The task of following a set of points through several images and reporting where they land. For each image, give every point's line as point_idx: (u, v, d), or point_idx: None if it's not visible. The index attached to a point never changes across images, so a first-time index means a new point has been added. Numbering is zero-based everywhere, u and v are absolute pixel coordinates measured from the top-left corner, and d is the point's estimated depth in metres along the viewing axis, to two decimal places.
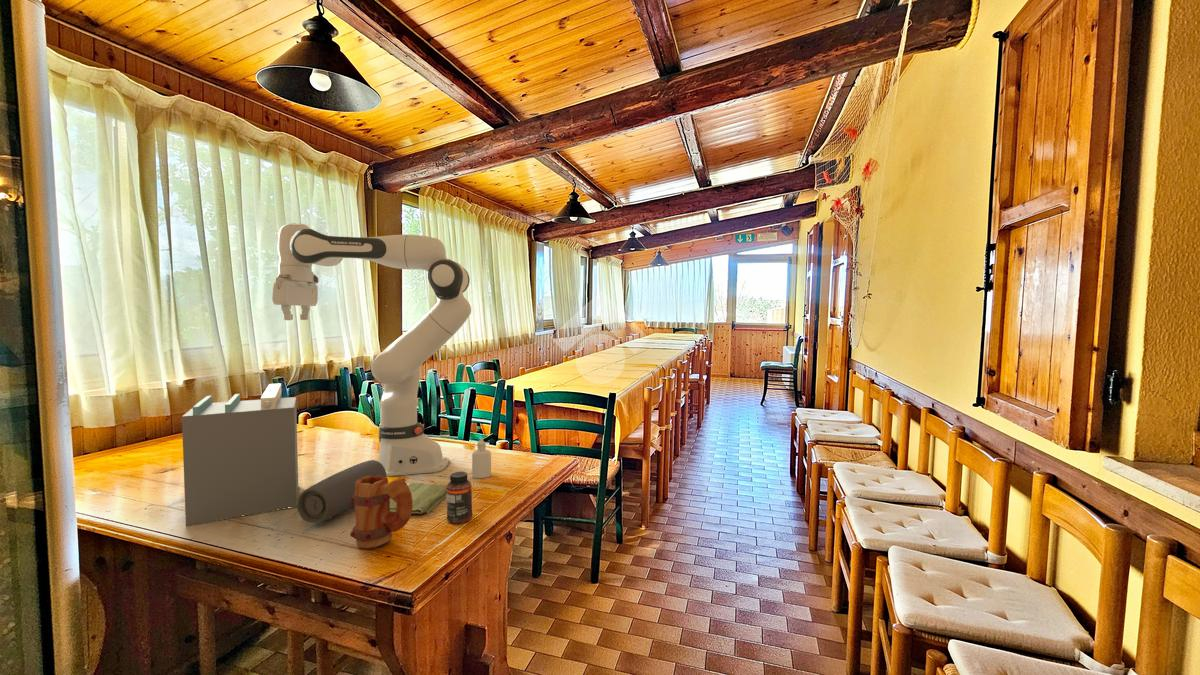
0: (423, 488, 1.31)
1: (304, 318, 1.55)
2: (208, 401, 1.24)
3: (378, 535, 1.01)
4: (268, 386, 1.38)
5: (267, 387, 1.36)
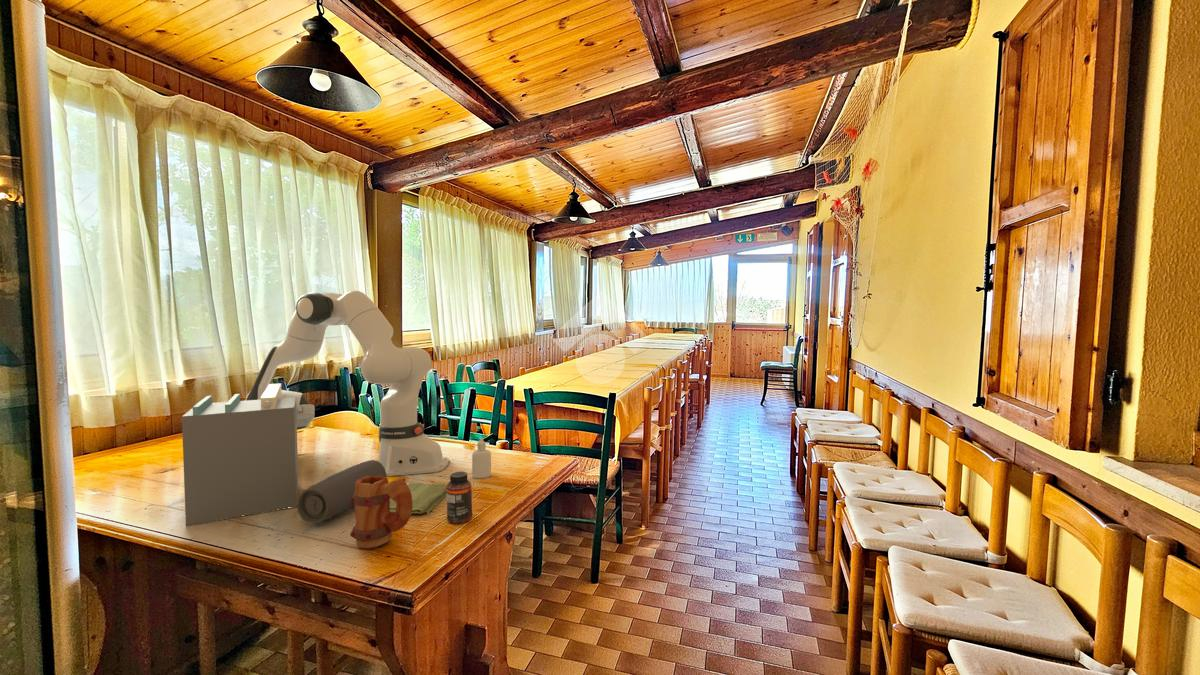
0: (422, 488, 1.31)
1: None
2: (208, 401, 1.24)
3: (378, 535, 1.01)
4: (268, 386, 1.38)
5: (267, 387, 1.36)
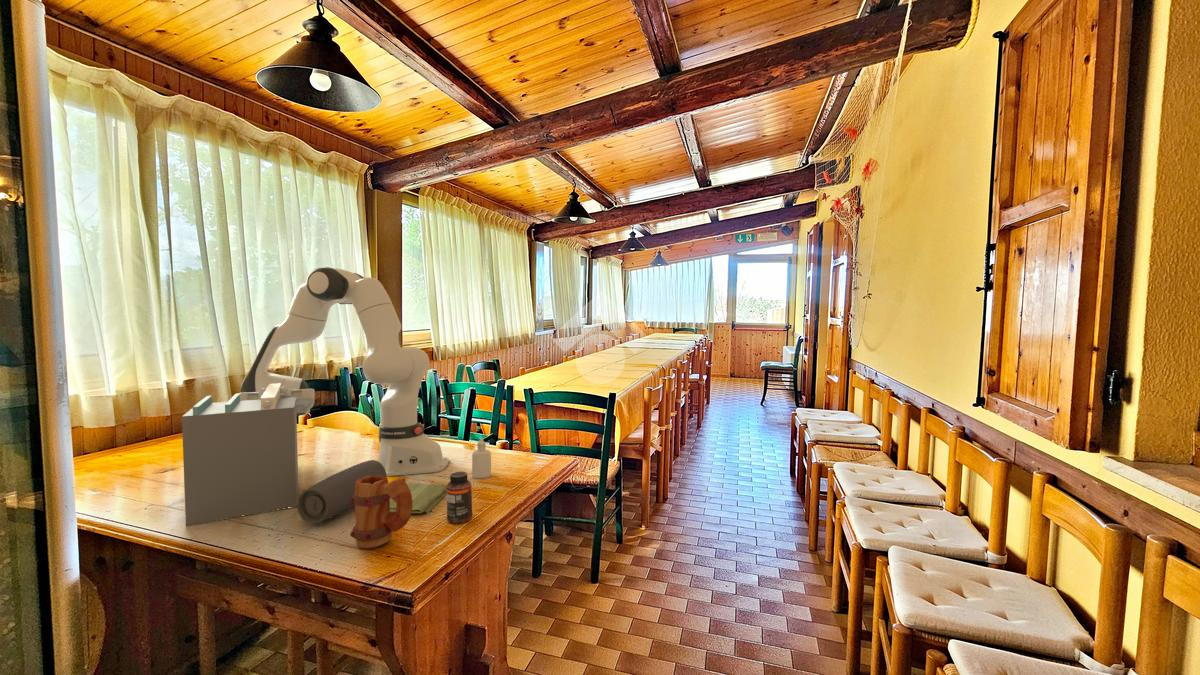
0: (421, 488, 1.31)
1: None
2: (208, 401, 1.24)
3: (378, 535, 1.01)
4: (268, 386, 1.38)
5: (267, 387, 1.36)
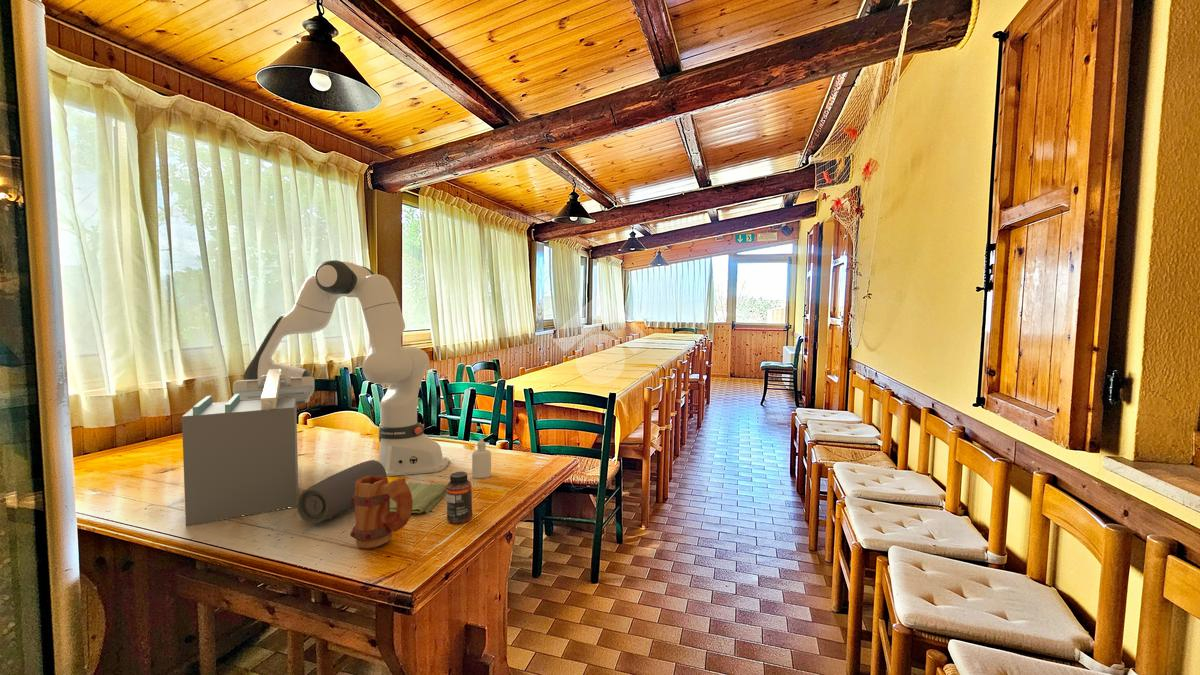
0: (421, 488, 1.31)
1: (280, 376, 1.40)
2: (208, 401, 1.24)
3: (378, 535, 1.01)
4: (268, 374, 1.38)
5: (267, 376, 1.36)
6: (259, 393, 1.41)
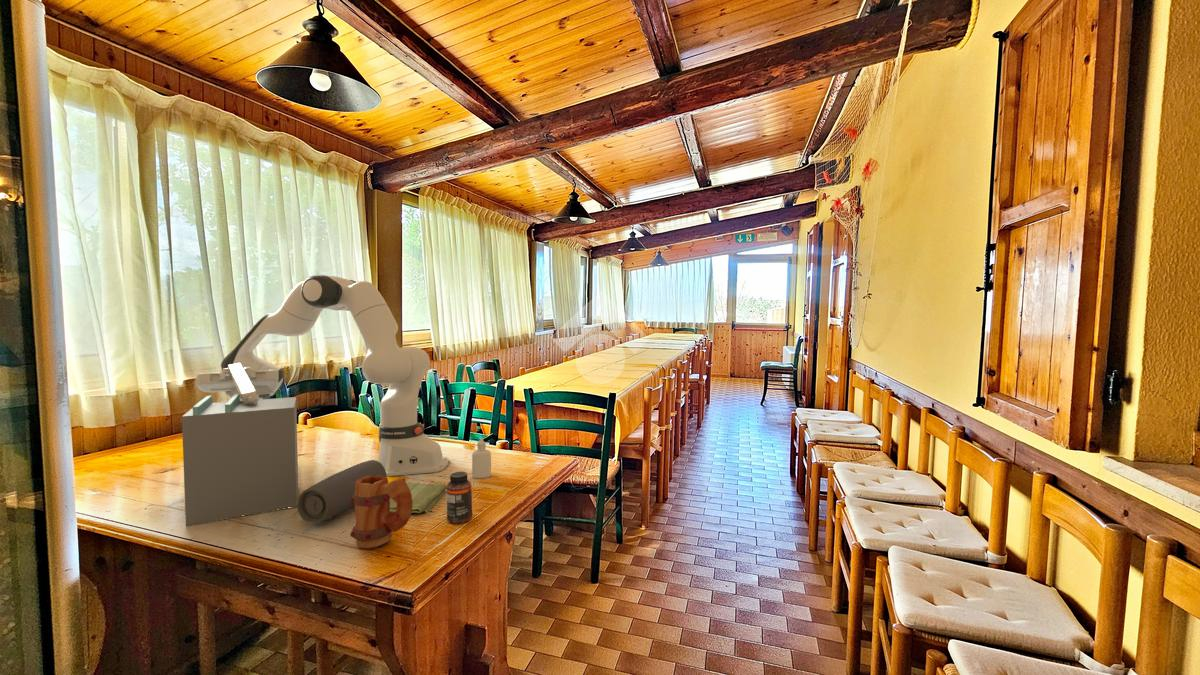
0: (419, 488, 1.31)
1: None
2: (208, 401, 1.24)
3: (378, 535, 1.01)
4: (231, 370, 1.41)
5: (231, 372, 1.39)
6: (223, 386, 1.45)
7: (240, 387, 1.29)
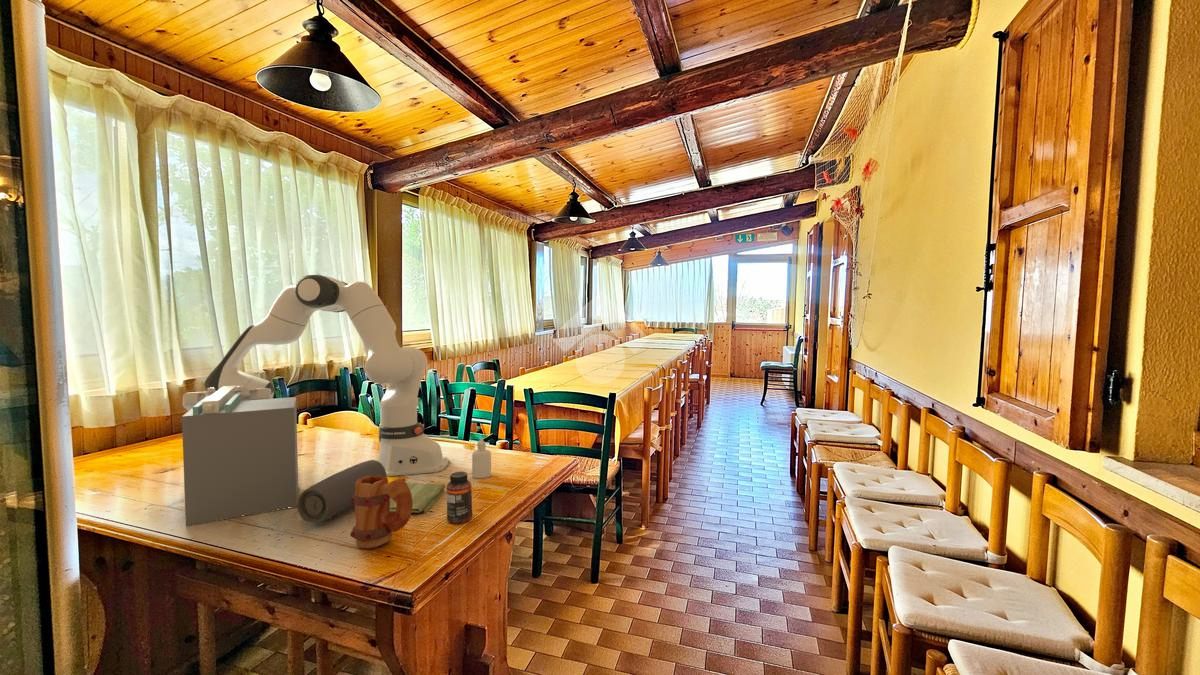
0: (418, 487, 1.31)
1: (237, 387, 1.34)
2: None
3: (378, 535, 1.01)
4: (220, 388, 1.33)
5: None
6: None
7: (208, 398, 1.19)
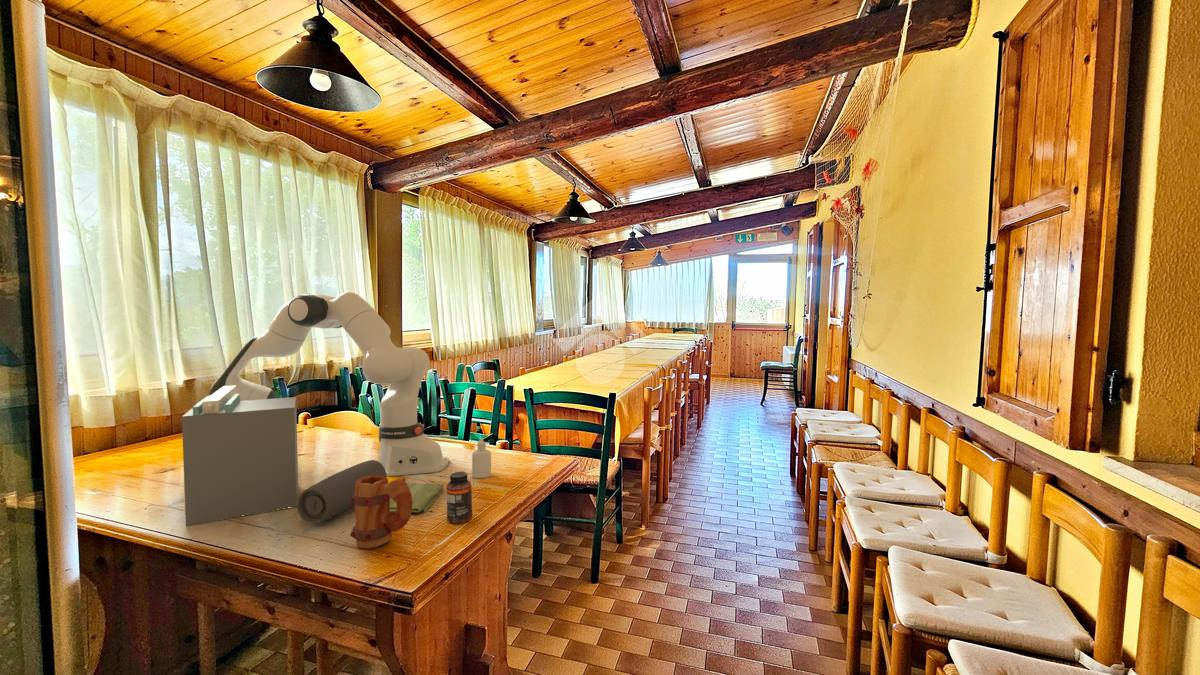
0: (417, 487, 1.31)
1: None
2: None
3: (378, 535, 1.01)
4: (220, 388, 1.33)
5: None
6: None
7: (208, 398, 1.19)
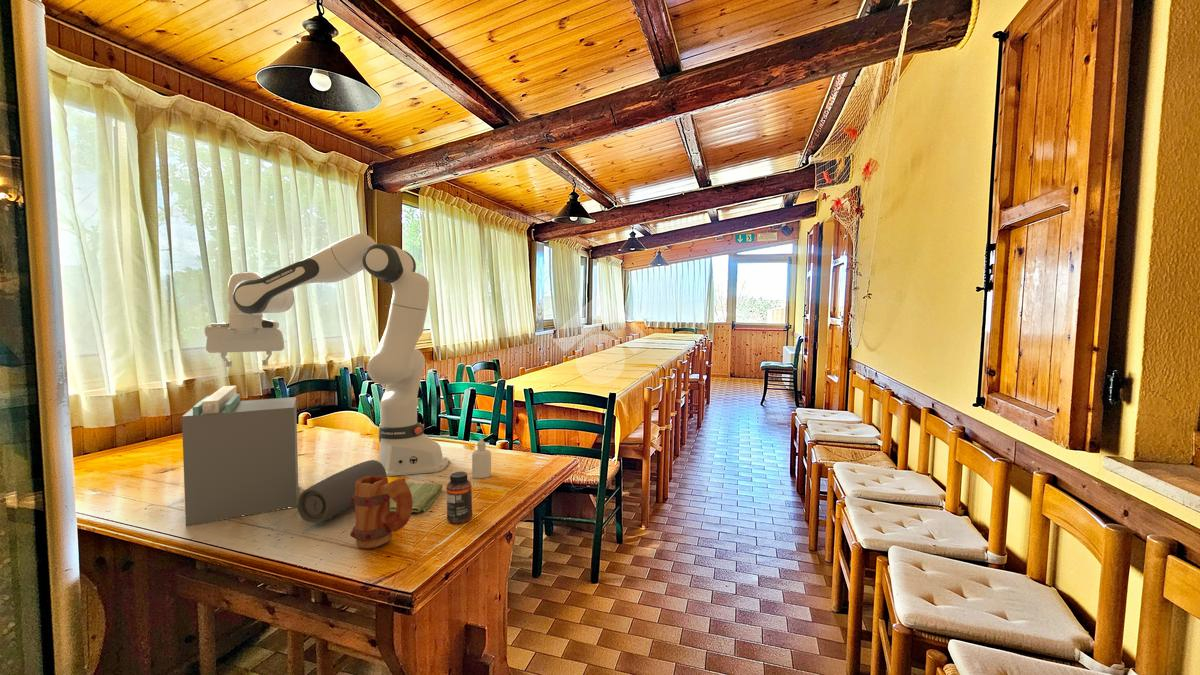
0: (415, 487, 1.31)
1: None
2: None
3: (378, 535, 1.01)
4: (220, 388, 1.33)
5: None
6: None
7: (208, 398, 1.19)
